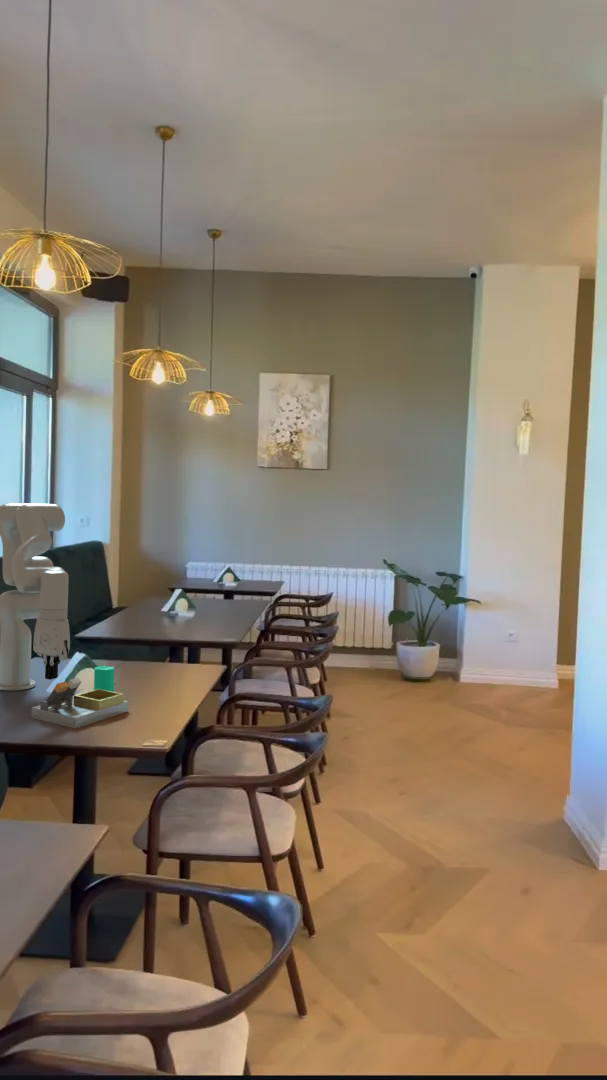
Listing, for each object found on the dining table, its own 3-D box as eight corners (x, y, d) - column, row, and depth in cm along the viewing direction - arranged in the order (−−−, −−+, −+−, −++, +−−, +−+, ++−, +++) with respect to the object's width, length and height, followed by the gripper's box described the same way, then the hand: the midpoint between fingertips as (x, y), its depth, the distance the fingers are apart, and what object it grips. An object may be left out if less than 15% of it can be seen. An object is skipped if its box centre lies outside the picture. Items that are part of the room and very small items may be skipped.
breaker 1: (43, 705, 215) (57, 683, 212) (51, 703, 217) (65, 681, 215) (46, 709, 214) (60, 687, 211) (55, 707, 217) (69, 685, 214)
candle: (108, 704, 232) (109, 665, 232) (90, 702, 234) (91, 664, 233) (116, 699, 238) (118, 661, 238) (99, 697, 239) (100, 660, 239)
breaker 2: (56, 701, 219) (70, 679, 216) (64, 699, 222) (78, 677, 219) (60, 705, 218) (73, 683, 216) (68, 703, 221) (81, 681, 218)
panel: (31, 717, 216) (32, 698, 215) (85, 702, 234) (86, 684, 234) (75, 728, 208) (75, 708, 207) (128, 711, 226) (128, 693, 226)
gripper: (24, 612, 214) (22, 676, 216) (62, 619, 207) (60, 685, 209) (44, 609, 221) (42, 671, 222) (82, 616, 214) (80, 680, 215)
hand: (51, 678), depth 216 cm, fingers closed
